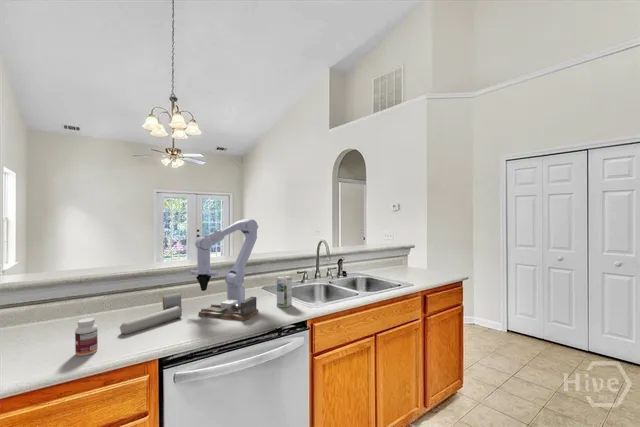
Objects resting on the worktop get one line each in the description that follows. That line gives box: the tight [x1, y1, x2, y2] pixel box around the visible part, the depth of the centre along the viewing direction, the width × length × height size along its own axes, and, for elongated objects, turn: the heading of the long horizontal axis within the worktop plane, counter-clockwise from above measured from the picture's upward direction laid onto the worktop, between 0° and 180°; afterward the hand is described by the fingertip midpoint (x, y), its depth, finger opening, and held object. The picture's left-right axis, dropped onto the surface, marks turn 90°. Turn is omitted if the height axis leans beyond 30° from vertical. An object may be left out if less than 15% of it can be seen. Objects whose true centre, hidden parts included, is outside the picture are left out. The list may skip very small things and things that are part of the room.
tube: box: [119, 306, 183, 335], centre depth 138 cm, size 5×5×25 cm
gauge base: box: [197, 296, 259, 322], centre depth 153 cm, size 24×12×8 cm, turn 73°
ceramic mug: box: [162, 292, 182, 311], centre depth 158 cm, size 11×8×8 cm
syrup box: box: [276, 275, 293, 309], centre depth 166 cm, size 6×6×14 cm
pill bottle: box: [74, 317, 99, 357], centre depth 112 cm, size 6×6×11 cm
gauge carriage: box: [220, 299, 240, 312], centre depth 151 cm, size 8×9×4 cm
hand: (203, 290), depth 159 cm, fingers closed
